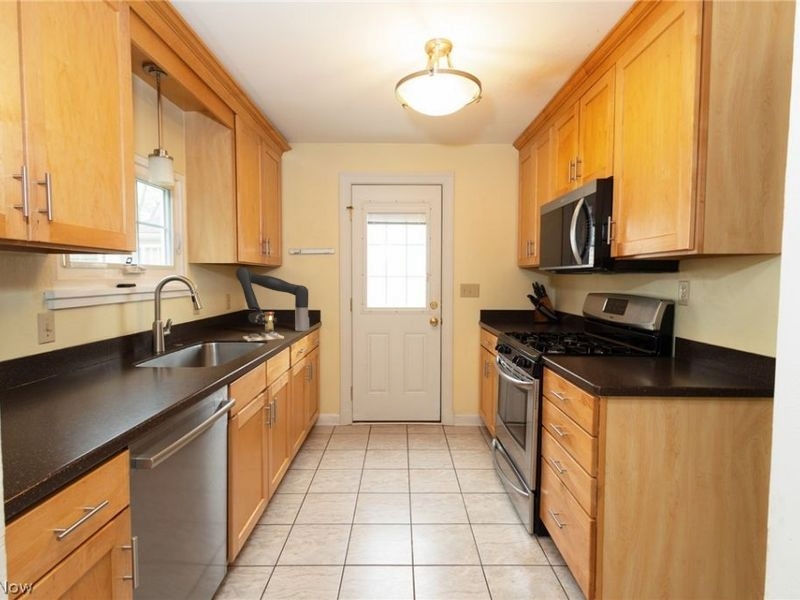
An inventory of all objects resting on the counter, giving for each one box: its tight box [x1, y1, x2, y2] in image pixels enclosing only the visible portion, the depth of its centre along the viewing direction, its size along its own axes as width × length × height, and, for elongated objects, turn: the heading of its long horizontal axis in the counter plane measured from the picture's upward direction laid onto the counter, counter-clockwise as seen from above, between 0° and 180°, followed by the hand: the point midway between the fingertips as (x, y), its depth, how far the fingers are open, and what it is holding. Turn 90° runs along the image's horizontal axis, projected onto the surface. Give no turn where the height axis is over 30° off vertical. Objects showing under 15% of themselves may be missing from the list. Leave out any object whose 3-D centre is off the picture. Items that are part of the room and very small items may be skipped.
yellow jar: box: [263, 311, 275, 333], centre depth 256 cm, size 6×6×12 cm
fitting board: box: [242, 331, 285, 342], centre depth 254 cm, size 22×13×3 cm, turn 124°
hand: (270, 321), depth 254 cm, fingers closed on yellow jar, 5 cm apart
